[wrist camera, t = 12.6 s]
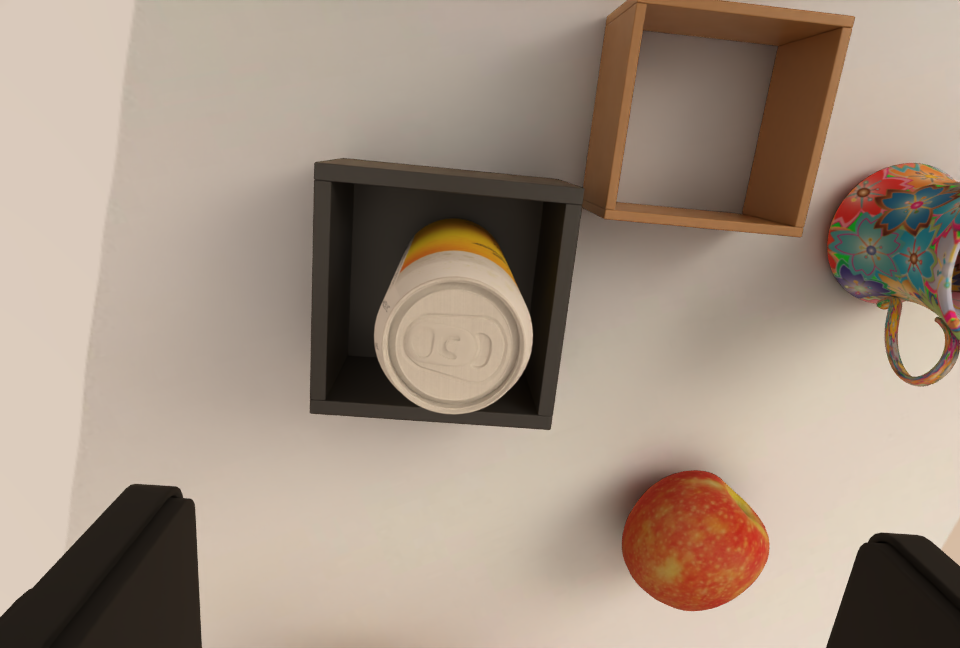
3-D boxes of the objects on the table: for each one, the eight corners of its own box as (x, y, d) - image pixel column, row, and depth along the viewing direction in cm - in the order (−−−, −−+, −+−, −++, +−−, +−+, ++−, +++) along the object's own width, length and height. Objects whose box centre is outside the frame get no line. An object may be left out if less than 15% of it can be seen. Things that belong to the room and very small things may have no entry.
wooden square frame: (606, 16, 34) (638, -11, 28) (788, 37, 34) (855, 16, 28) (580, 207, 36) (603, 219, 31) (747, 222, 37) (801, 237, 31)
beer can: (493, 323, 38) (518, 435, 23) (395, 307, 37) (360, 411, 23) (513, 227, 36) (552, 283, 22) (410, 208, 36) (382, 252, 21)
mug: (868, 128, 36) (1033, 124, 26) (991, 195, 37) (1193, 215, 27) (761, 309, 39) (870, 368, 29) (878, 364, 40) (1023, 439, 30)
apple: (750, 503, 43) (815, 582, 35) (657, 574, 44) (700, 665, 37) (682, 430, 41) (734, 496, 33) (587, 506, 42) (617, 586, 35)
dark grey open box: (342, 158, 35) (314, 162, 28) (558, 179, 36) (584, 187, 29) (336, 363, 39) (309, 414, 31) (533, 378, 39) (550, 430, 32)
